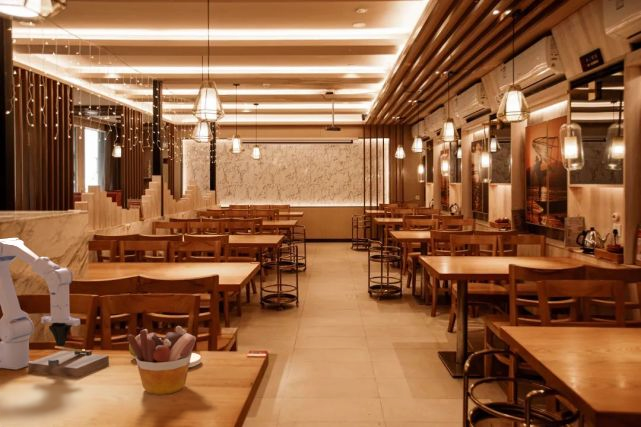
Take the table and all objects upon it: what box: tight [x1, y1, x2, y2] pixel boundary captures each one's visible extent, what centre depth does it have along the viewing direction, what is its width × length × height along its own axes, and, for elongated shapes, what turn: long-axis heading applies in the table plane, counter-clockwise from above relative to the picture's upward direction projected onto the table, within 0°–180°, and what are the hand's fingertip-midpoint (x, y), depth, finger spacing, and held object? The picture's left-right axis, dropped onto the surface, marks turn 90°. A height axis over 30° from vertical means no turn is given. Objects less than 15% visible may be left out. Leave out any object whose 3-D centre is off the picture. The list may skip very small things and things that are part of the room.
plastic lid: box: [189, 352, 202, 368], centre depth 192 cm, size 14×14×2 cm
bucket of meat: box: [126, 325, 197, 396], centre depth 167 cm, size 20×16×20 cm
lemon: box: [128, 335, 138, 357], centre depth 200 cm, size 6×6×8 cm
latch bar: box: [54, 345, 87, 353], centre depth 190 cm, size 3×12×1 cm, turn 161°
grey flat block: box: [27, 349, 110, 379], centre depth 189 cm, size 20×15×5 cm
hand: (61, 345), depth 185 cm, fingers closed, pressing on latch bar
